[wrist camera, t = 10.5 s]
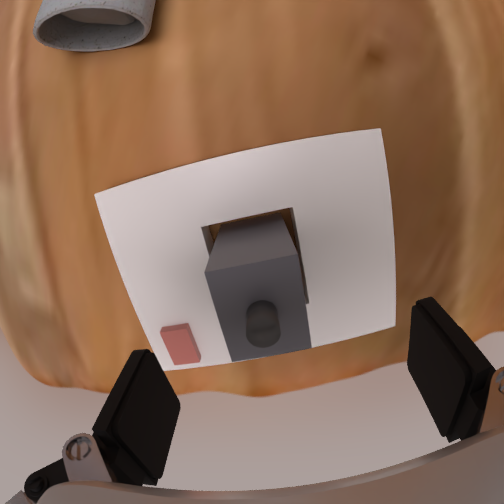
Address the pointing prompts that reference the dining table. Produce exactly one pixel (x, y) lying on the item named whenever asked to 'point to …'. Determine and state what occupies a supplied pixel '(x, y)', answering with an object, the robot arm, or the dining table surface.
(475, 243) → the dining table surface
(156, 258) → the socket plate
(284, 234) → the plug
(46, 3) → the ceramic mug
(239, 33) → the dining table surface
